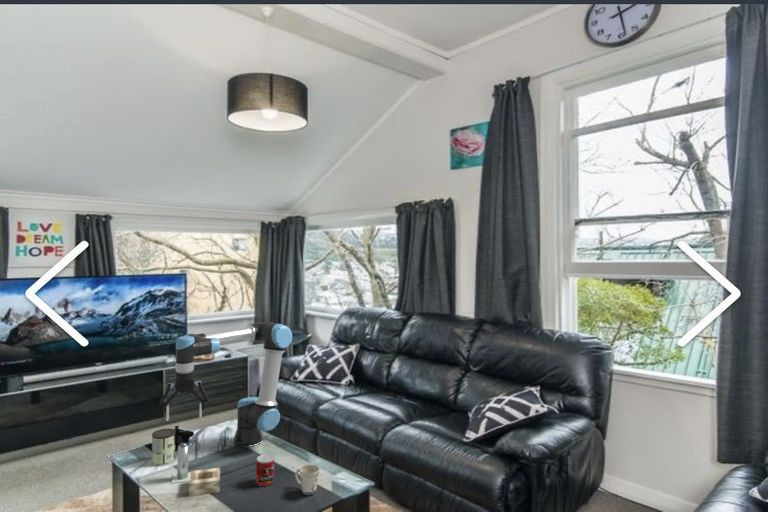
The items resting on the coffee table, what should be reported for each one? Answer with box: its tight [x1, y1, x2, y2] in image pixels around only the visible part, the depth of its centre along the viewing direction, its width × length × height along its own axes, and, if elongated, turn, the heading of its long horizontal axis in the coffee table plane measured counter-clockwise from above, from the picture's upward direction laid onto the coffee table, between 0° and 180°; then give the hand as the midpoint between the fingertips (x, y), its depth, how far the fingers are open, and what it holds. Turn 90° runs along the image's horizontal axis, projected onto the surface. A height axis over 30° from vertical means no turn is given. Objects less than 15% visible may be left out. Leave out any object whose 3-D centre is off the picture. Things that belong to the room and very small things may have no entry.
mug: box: [294, 464, 320, 492], centre depth 201 cm, size 8×13×10 cm, turn 58°
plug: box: [176, 442, 190, 480], centre depth 210 cm, size 4×4×15 cm
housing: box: [188, 467, 221, 497], centre depth 202 cm, size 12×12×5 cm
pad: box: [171, 471, 191, 485], centre depth 210 cm, size 8×8×1 cm
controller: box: [173, 425, 195, 447], centre depth 243 cm, size 4×12×10 cm, turn 77°
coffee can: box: [151, 427, 176, 467], centre depth 225 cm, size 10×10×14 cm
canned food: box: [255, 453, 275, 487], centre depth 208 cm, size 8×8×11 cm
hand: (184, 418), depth 210 cm, fingers open, 13 cm apart
